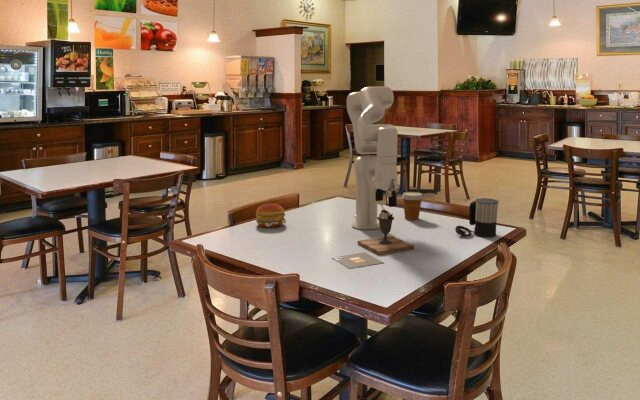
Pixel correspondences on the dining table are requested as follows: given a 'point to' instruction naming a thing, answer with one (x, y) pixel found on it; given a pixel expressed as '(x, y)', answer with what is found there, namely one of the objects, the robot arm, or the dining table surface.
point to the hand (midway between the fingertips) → (385, 203)
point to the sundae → (385, 224)
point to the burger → (270, 215)
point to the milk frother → (481, 218)
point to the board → (385, 245)
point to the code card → (358, 260)
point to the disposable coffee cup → (412, 205)
